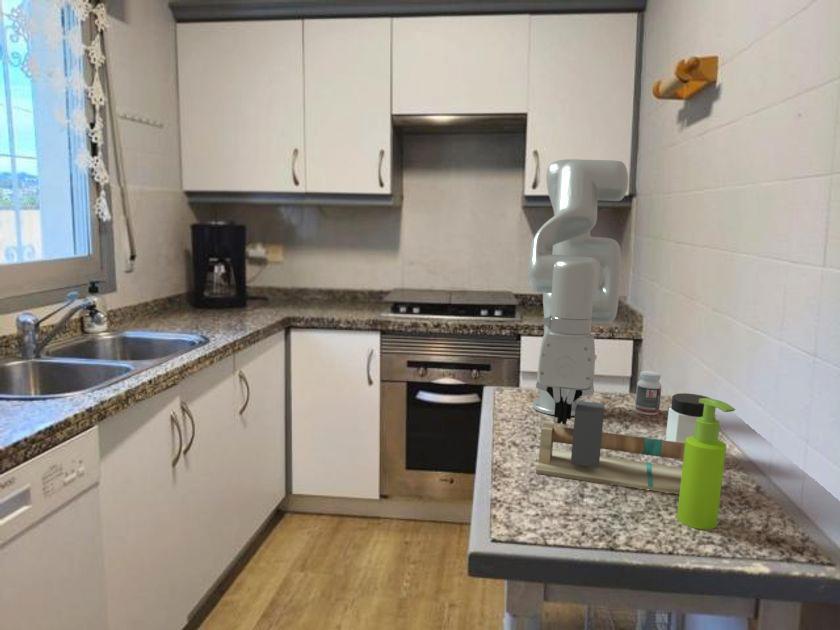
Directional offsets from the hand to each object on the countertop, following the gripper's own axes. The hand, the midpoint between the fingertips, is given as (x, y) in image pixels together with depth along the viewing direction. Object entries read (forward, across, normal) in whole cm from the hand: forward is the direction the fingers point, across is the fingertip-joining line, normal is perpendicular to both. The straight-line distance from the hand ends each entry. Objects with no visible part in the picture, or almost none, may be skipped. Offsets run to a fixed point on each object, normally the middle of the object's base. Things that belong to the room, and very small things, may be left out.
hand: (562, 421), depth 126 cm
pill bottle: (+9, +17, +45) cm, 49 cm away
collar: (+7, +5, 0) cm, 8 cm away
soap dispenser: (+9, +24, -16) cm, 30 cm away
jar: (+9, +24, +16) cm, 31 cm away
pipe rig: (+9, +11, 0) cm, 14 cm away
